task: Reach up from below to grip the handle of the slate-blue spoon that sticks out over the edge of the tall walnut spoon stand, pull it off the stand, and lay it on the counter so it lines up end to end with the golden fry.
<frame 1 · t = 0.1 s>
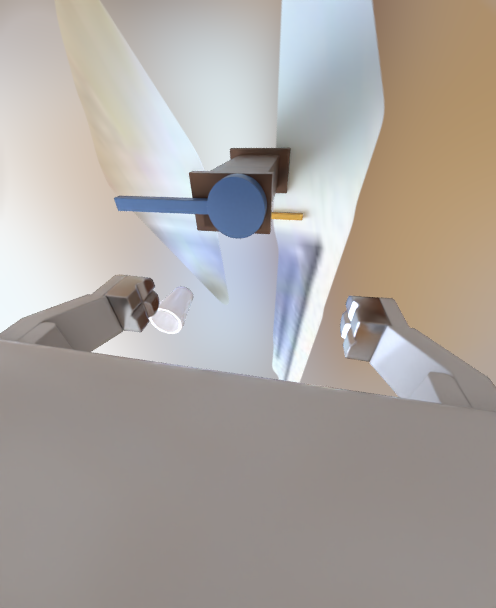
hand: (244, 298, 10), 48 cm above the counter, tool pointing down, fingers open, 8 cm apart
foam cup: (184, 294, 74), on the counter
spoon: (239, 205, 29), point 26 cm above the counter, touching spoon stand
fry: (284, 215, 54), on the counter
spoon stand: (259, 170, 49), on the counter
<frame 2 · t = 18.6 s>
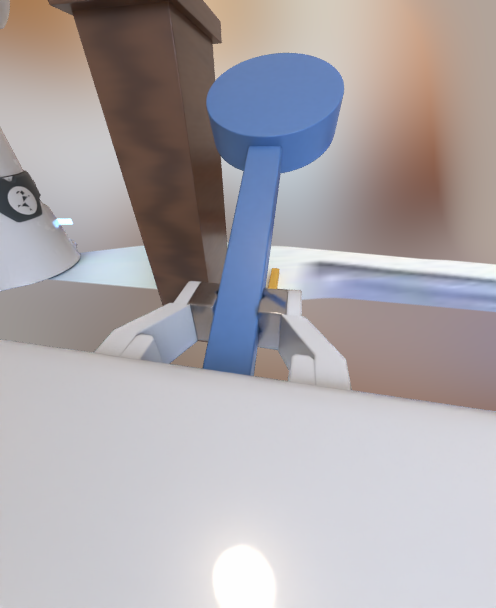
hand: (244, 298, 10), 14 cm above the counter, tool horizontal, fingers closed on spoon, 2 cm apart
spoon: (273, 131, 14), point 19 cm above the counter, tilted 31°, touching gripper
fry: (272, 288, 35), on the counter
spoon stand: (202, 307, 31), on the counter
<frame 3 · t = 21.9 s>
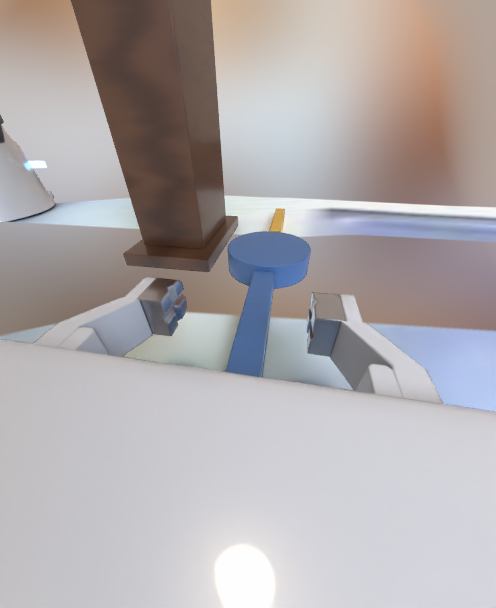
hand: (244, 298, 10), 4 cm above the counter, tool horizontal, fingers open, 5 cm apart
spoon: (267, 267, 21), on the counter
fry: (277, 227, 29), on the counter
spoon stand: (191, 242, 26), on the counter
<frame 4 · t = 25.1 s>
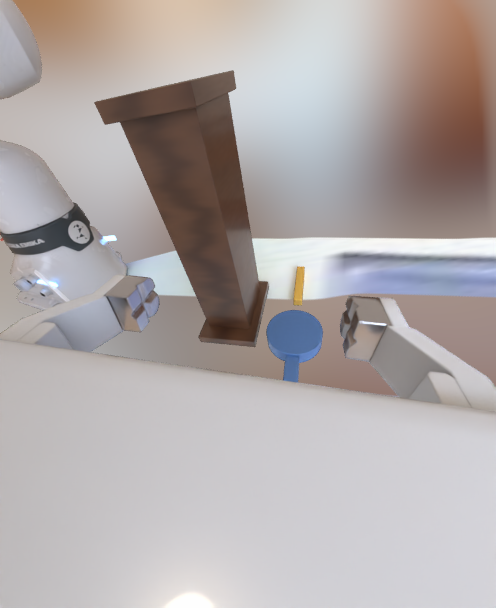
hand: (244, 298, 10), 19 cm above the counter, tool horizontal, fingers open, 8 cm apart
spoon: (294, 339, 31), on the counter
fry: (299, 287, 38), on the counter
spoon stand: (237, 312, 36), on the counter
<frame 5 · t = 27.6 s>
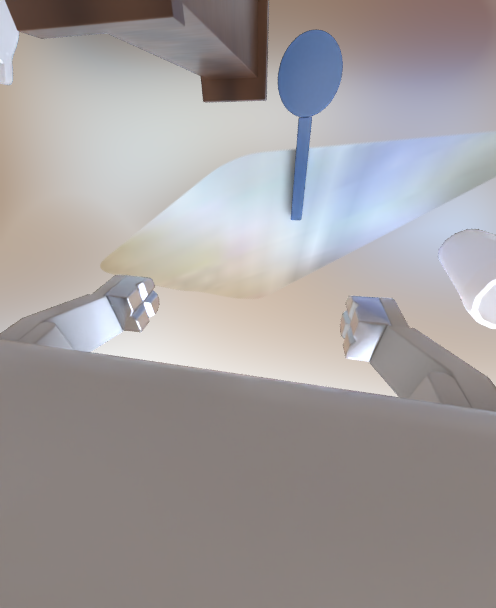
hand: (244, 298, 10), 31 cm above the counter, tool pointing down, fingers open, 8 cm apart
foam cup: (461, 248, 36), on the counter
spoon: (308, 79, 27), on the counter
spoon stand: (233, 31, 26), on the counter
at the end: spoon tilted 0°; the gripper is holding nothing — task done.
